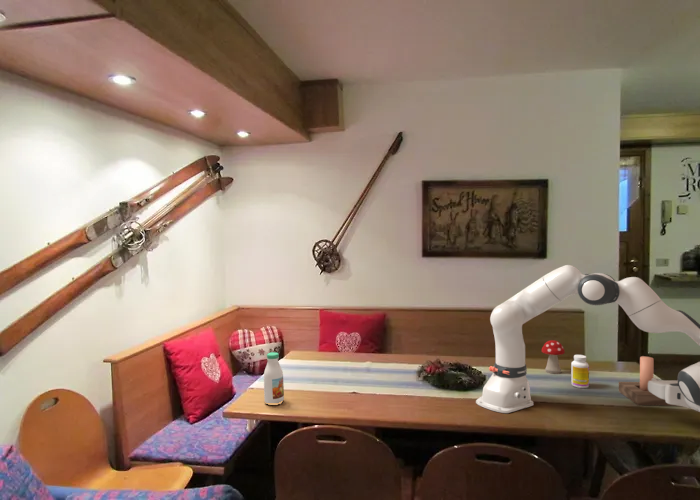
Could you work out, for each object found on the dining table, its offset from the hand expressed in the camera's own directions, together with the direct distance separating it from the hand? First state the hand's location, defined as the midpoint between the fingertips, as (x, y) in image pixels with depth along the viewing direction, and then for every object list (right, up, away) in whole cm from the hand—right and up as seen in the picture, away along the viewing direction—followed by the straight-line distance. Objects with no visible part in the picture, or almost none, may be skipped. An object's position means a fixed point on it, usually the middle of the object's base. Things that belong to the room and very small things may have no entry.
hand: (667, 380), depth 160 cm
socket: (+1, -11, +13) cm, 16 cm away
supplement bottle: (-17, -11, +27) cm, 34 cm away
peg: (+1, -11, +13) cm, 17 cm away
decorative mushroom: (-20, -10, +45) cm, 51 cm away
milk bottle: (-146, -14, +17) cm, 147 cm away
